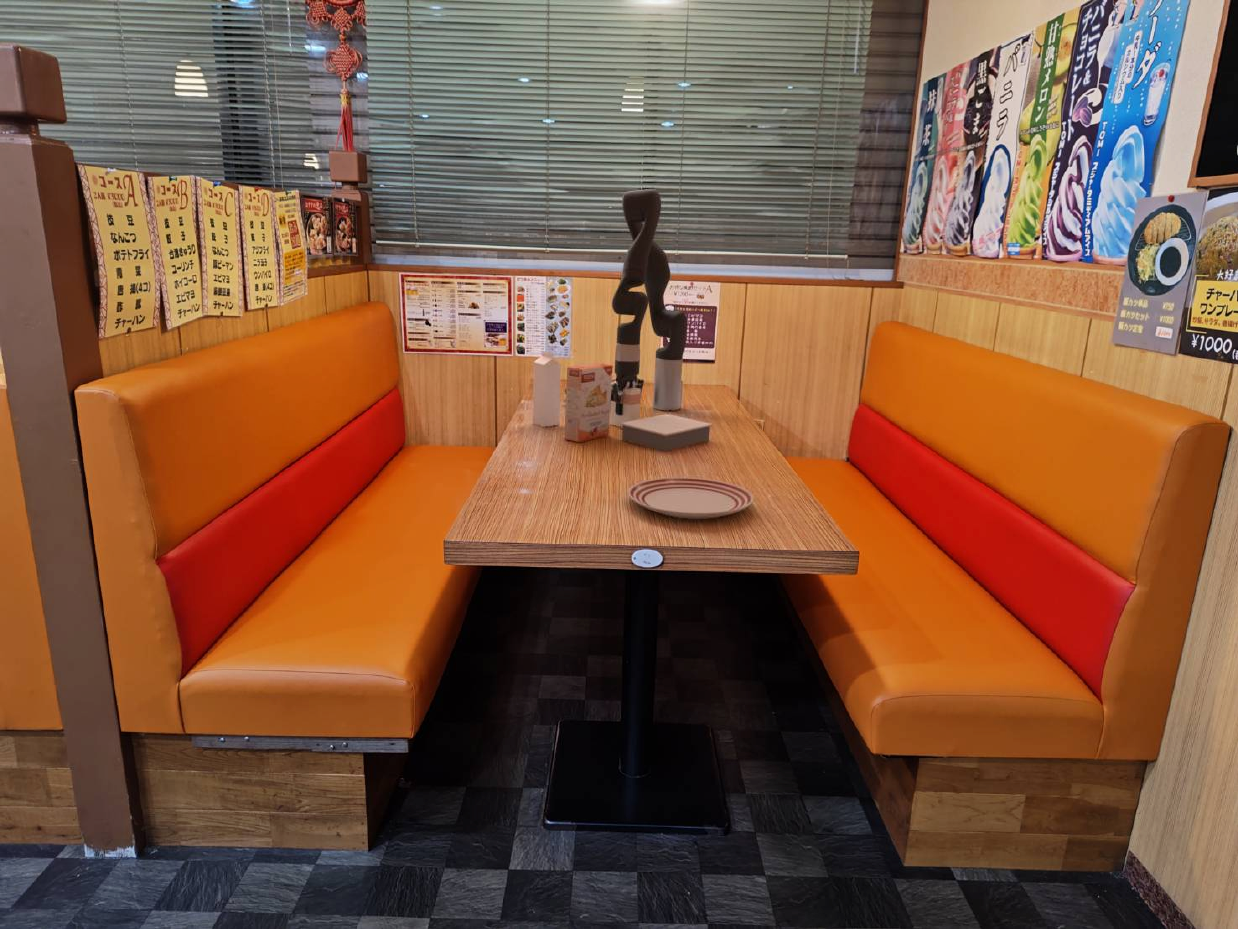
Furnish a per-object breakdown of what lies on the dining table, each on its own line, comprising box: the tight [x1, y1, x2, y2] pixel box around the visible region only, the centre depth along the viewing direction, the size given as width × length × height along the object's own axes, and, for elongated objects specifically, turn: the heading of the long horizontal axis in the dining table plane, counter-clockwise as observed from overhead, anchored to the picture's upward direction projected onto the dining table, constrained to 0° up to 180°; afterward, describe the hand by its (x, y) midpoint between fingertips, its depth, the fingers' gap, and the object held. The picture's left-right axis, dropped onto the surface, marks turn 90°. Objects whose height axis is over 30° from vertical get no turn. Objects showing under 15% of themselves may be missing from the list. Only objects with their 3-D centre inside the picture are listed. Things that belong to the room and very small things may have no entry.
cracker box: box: [563, 362, 614, 443], centre depth 233 cm, size 14×6×21 cm, turn 143°
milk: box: [532, 350, 562, 428], centre depth 248 cm, size 6×6×22 cm
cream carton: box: [609, 388, 642, 428], centre depth 251 cm, size 5×8×12 cm, turn 47°
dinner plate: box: [627, 476, 755, 520], centre depth 180 cm, size 28×27×3 cm
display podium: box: [620, 413, 713, 452], centre depth 236 cm, size 21×17×5 cm
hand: (624, 413), depth 252 cm, fingers closed on cream carton, 4 cm apart
